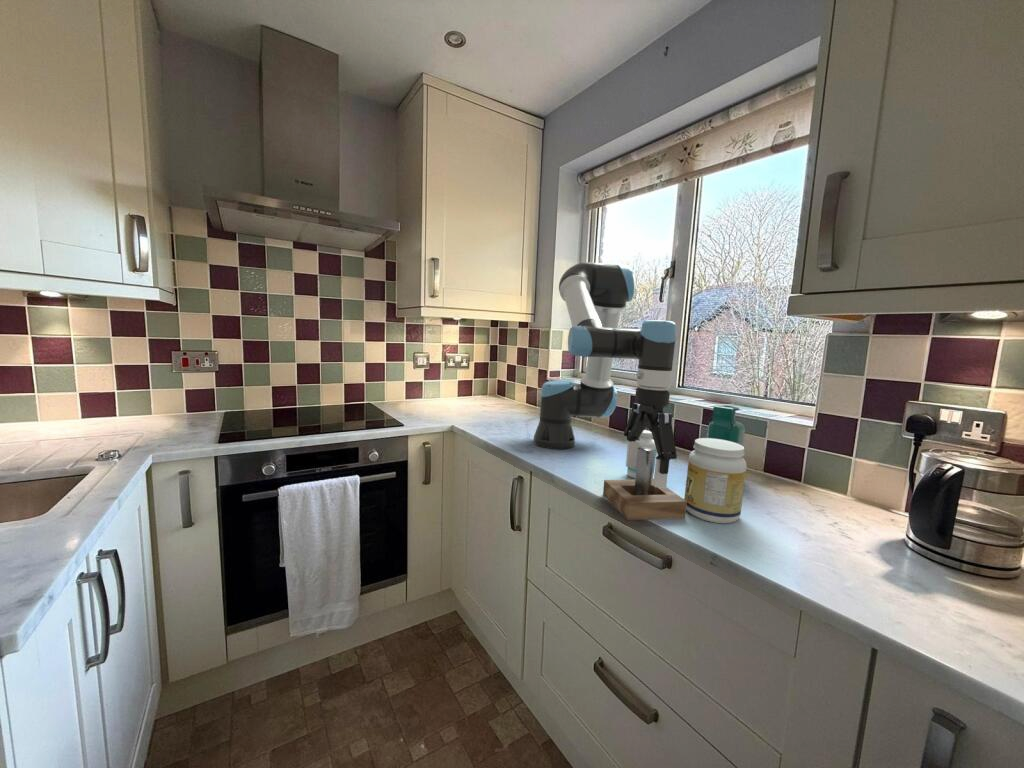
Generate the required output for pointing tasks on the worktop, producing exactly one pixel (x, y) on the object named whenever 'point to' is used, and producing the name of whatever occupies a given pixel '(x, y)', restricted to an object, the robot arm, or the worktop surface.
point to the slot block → (644, 501)
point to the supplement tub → (715, 480)
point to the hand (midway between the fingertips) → (644, 475)
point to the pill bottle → (644, 442)
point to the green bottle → (726, 425)
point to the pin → (644, 471)
